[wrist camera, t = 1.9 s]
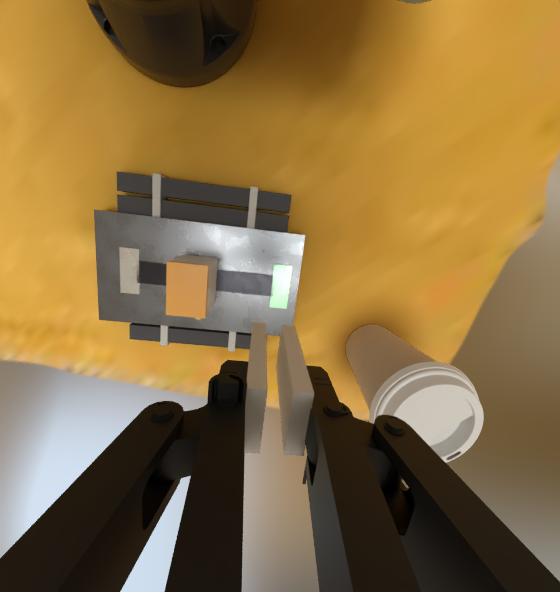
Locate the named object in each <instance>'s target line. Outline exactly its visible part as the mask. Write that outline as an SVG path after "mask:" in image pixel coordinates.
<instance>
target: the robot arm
mask: <svg viewBox="0 0 560 592" xmlns="http://www.w3.org/2000/svg"><path fill="white" fill-rule="evenodd" d="M398 1H402V2H407V3H413V4H416V3H424V2H427V1H430V0H398ZM87 3H88V5H89V7H90V9H91V12H92V14H93V15H94V17H95V19H96V21H97V23H98V24H99V26H100V28H101V29H102V31H103V32H104V34H105V35H106V36H107V38H108V39H109V40H110V42H111V43H112V44H113V45H114V46H115V48H116V49H117V50H118V51H119V52H120V53H121V55H122V56H123V57H124V58H125V59H126V60H127V61H128V62H129V63H130V64H131V65H132V66H134V67H135V68H136V69H137V70H139V71H140V72H141V73H143V74H144V75H146V76H148V77H150V78H151V79H154V80H156V81H158V82H161V83H164V84H167V85H171V86H178V87H192V86H198V85H202V84H206V83H208V82H211V81H213V80H215V79H217V78H218V77H220V76H221V75H223V74H224V73H225V72H227V71H228V70H229V69H230V68H231V67H232V66H233V65H234V64H235V63H236V61H237V60H238V59H239V57H240V56H241V54H242V53H243V51H244V49H245V48H246V45H247V43H248V41H249V39H250V36H251V33H252V30H253V26H254V21H255V15H256V3H257V0H87ZM276 370H277V382H278V393H279V405H280V416H281V427H282V438H283V451H284V455H298V456H303V455H304V450H305V445H306V449H307V460H306V466H305V471H304V477H303V484H306V479H307V484H308V493H309V502H310V511H311V520H312V528H313V537H314V546H315V555H316V562H317V563H316V564H317V572H318V581H319V590H320V592H560V582H559V581H558V580H557V579H556V578H555V577H554V575H553V574H552V573H551V572H550V571H549V570H548V569H547V568H546V567H545V566H544V565H543V564H542V563H541V562H540V561H539V560H538V559H537V558H536V557H535V556H534V555H533V554H532V553H531V551H529V549H528V548H527V547H525V545H524V544H523V543H522V542H521V541H520V540H519V539H518V538H517V537H516V536H515V535H514V534H513V533H512V532H511V531H510V530H509V529H508V528H507V526H505V524H504V523H503V522H502V521H501V520H500V519H499V518H498V517H497V516H496V515H495V514H494V513H493V512H492V511H491V510H490V509H489V508H488V507H487V506H486V505H485V504H484V502H483V501H481V499H480V498H479V497H478V496H477V495H476V494H475V493H474V492H473V491H472V490H471V489H470V488H469V487H468V486H467V485H466V484H465V483H464V482H463V481H462V479H461V478H460V477H459V476H458V475H457V474H456V473H455V472H454V471H453V470H452V469H451V468H450V467H449V466H448V465H447V464H446V463H445V462H444V461H443V460H442V459H441V458H440V456H439V455H438V454H437V453H436V452H435V451H434V450H433V449H432V448H431V447H430V446H429V445H428V444H427V443H426V442H425V441H424V440H423V439H422V438H421V437H420V436H419V435H418V434H417V432H416V431H415V430H414V429H413V428H412V427H411V426H410V425H408V424H407V423H406V422H405V421H403V420H401V419H399V418H398V417H395V416H391V415H379V416H377V417H376V418H375V421H374V424H373V423H369V422H366V421H362V420H359V419H357V418H354V417H353V415H352V412H351V411H350V409H349V408H348V407H347V406H346V405H344V404H343V403H341V402H339V400H338V397H337V395H336V393H335V390H334V388H333V386H332V383H331V381H330V378H329V376H328V374H327V372H326V371H325V370H324V369H323V368H321V367H317V366H306V363H305V360H304V356H303V353H302V350H301V346H300V343H299V339H298V336H297V333H296V329H295V326H287V325H282V327H281V334H280V342H279V350H278V357H277V365H276ZM266 397H267V351H266V323H255V322H253V325H252V334H251V344H250V353H249V362H246V361H234V360H227V361H226V362H225V363H224V364H222V366H221V369H220V373H219V374H218V375H215V376H214V377H212V378H211V379H210V381H209V388H208V403H207V405H205V406H204V407H201V408H199V409H195V410H191V411H183V407H182V406H181V405H179V404H178V403H175V402H172V401H162V402H156V403H154V404H152V405H149V406H148V407H146V408H145V409H144V410H143V411H142V412H141V413H140V414H139V415H138V416H137V417H136V418H135V419H134V420H133V421H132V422H131V423H130V424H129V425H128V426H127V427H126V428H125V429H124V430H123V431H122V433H121V434H120V435H119V436H118V437H117V438H116V439H115V440H114V441H113V442H112V443H111V444H110V445H109V446H108V447H107V448H106V449H105V450H104V451H103V452H102V453H101V454H100V455H99V456H98V457H97V459H95V461H94V462H93V463H92V464H91V465H90V466H89V467H88V468H87V469H86V470H85V471H84V472H83V473H82V474H81V475H80V476H79V477H78V478H77V479H76V480H75V481H74V482H73V484H71V486H70V487H69V488H68V489H67V490H66V491H65V492H64V493H63V494H62V495H61V496H60V497H59V498H58V499H57V500H56V501H55V502H54V503H53V504H52V505H51V506H50V508H48V509H47V510H46V512H45V513H44V514H43V515H42V516H41V517H40V518H39V519H38V520H37V521H36V522H35V523H34V524H33V525H32V526H31V527H30V528H29V529H28V530H27V531H26V532H25V534H23V535H22V537H21V538H20V539H19V540H18V541H17V542H16V543H15V544H14V545H13V546H12V547H11V548H10V549H9V550H8V551H7V552H6V553H5V554H4V555H3V556H2V557H1V558H0V592H120V591H121V589H122V587H123V585H124V584H125V582H126V580H127V578H128V576H129V574H130V572H131V571H132V569H133V567H134V565H135V563H136V561H137V560H138V558H139V556H140V554H141V552H142V550H143V548H144V547H145V545H146V543H147V541H148V540H149V538H150V536H151V534H152V532H153V530H154V528H155V527H156V525H157V523H158V521H159V519H160V517H161V516H162V514H163V512H164V510H165V508H166V506H167V504H168V503H169V501H170V499H171V497H172V495H173V494H174V492H175V490H176V488H177V486H178V484H179V482H180V479H181V478H183V477H187V476H191V478H190V482H189V487H188V491H187V495H186V500H185V505H184V509H183V513H182V518H181V522H180V527H179V531H178V535H177V540H176V544H175V548H174V553H173V557H172V562H171V566H170V570H169V575H168V579H167V584H166V588H165V592H241V589H242V588H241V587H242V541H243V539H242V538H243V494H244V453H260V445H261V437H262V428H263V421H264V413H265V405H266ZM402 479H403V480H404V481H405V483H406V484H407V485H408V487H409V488H408V489H407V488H406V487H405V486H404V484H403V483H402Z"/></svg>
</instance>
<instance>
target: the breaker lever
mask: <svg viewBox="0 0 560 592" xmlns="http://www.w3.org/2000/svg"><path fill="white" fill-rule="evenodd" d="M217 264H218V258H213V257H205V256H196V255H187V254H183V255H181V256H179V257H176V258H174V259H172V260H169V261H167V273H166V315H172V316H183V317H194V318H204V319H205V318H206V316H207V315H208V313H209V311H210V310H211V308H212V306H213V305H214V303H215V295H216V280H217Z"/></svg>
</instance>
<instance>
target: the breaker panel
mask: <svg viewBox="0 0 560 592" xmlns="http://www.w3.org/2000/svg"><path fill="white" fill-rule="evenodd" d="M94 218H95V240H96V261H97V283H98V305H99V320H108V321H119V322H131V323H142V324H153V325H164V326H175V327H186V328H198V329H209V330H220V331H231V332H242V333H252V325H253V322H255V323H266V335H276V336H280V334H281V327H282V325H287V326H293V320H294V313H295V306H296V298H297V291H298V284H299V277H300V270H301V263H302V256H303V249H304V241H305V235H303V234H296V233H288V232H287V233H284V232H275V231H267V230H259V229H250V228H242V227H234V226H226V225H218V224H210V223H201V222H193V221H185V220H177V219H169V218H160V217H152V216H144V215H136V214H127V213H119V212H115V211H107V210H94ZM183 254H187V255H196V256H205V257H213V258H218V264H217V280H216V295H215V303H214V305H213V306H212V308H211V310H210V311H209V313H208V315H207V316H206V318H205V319H204V318H194V317H183V316H172V315H166V273H167V261H169V260H172V259H174V258H176V257H179V256H181V255H183Z"/></svg>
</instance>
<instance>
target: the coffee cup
mask: <svg viewBox="0 0 560 592" xmlns="http://www.w3.org/2000/svg"><path fill="white" fill-rule="evenodd" d="M345 350H346V356H347V358H348V360H349V363H350V365H351V368H352V370H353V372H354V375H355V377H356V379H357V382H358V384H359V386H360V389H361V391H362V394H363V396H364V398H365V401H366V403H367V406H368V408H369V411H370V423H373V424H374V421H375V418H376V417H377V416H379V415H391V416H395V417H398V418H399V419H401V420H403V421H405V422H406V423H407V424H408V425H410V426H411V427H412V428H413V429H414V430H415V431H416V432H417V434H418V435H419V436H420V437H421V438H422V439H423V440H424V441H425V442H426V443H427V444H428V445H429V446H430V447H431V448H432V449H433V450H434V451H435V452H436V453H437V454H438V455H439V456H440V458H441V459H442V460H443V461H444V462H445V463H446V462H449V461H451V460H453V459H455V458H457V457H459V456H460V455H462V454H463V453H464V452H466V451H467V450H468V449H469V448H470V447H471V446H472V444H473V443H474V442H475V441H476V439H477V438H478V436H479V434H480V432H481V429H482V425H483V409H482V406H481V404H480V402H479V399H478V395H477V392H476V390H475V388H474V386H473V384H472V383H471V381H470V380H469V379H468V377H467V376H466V375H465V374H464V373H463V372H462V371H460V370H459V369H457V368H456V367H454V366H452V365H449V364H446V363H441V362H437V361H435V360H434V359H432V358H430V357H429V356H427V355H426V354H424V353H423V352H421V351H419V350H418V349H416V348H415V347H413V346H412V345H410V344H409V343H407V342H406V341H404V340H402V339H401V338H399V337H398V336H396V335H395V334H393V333H392V332H390V331H389V330H387V329H385V328H384V327H382V326H379V325H375V324H369V325H364V326H362V327H359V328H358V329H356V330H355V331H354V332H353V333H352V334H351V335H350V336H349V338H348V340H347V343H346V348H345Z"/></svg>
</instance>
